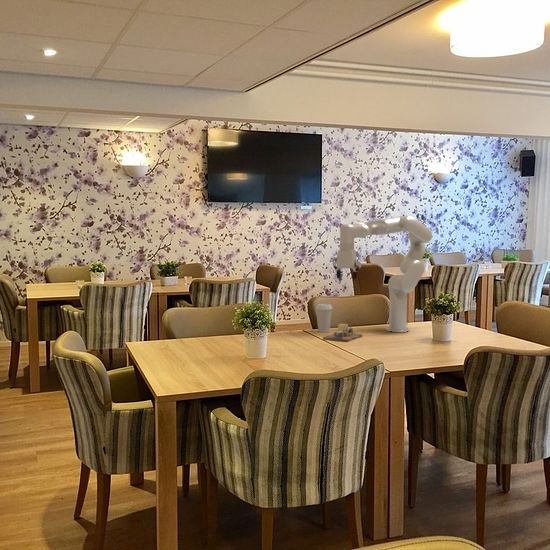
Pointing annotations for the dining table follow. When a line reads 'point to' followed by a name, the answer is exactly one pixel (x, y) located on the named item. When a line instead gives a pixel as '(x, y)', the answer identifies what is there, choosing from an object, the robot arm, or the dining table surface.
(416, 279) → the robot arm
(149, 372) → the dining table surface
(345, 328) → the coupler
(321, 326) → the coffee cup
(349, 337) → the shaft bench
